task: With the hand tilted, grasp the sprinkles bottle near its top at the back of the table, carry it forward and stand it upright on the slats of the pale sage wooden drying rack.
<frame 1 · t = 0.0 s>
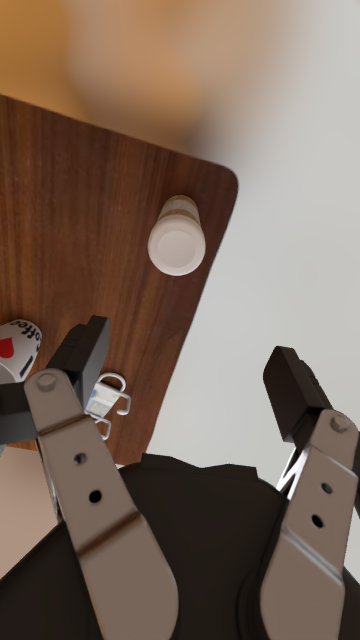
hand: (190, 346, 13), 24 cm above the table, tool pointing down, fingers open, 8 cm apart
cup: (26, 332, 42), on the table
wall mount rack: (89, 392, 49), on the table
sprinkles bottle: (180, 214, 32), on the table
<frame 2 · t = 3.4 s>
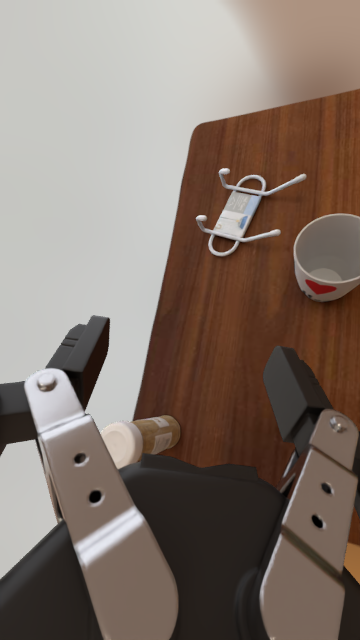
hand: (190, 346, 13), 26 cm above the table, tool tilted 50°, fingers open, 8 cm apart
cup: (322, 285, 37), on the table
wall mount rack: (250, 220, 43), on the table
sprinkles bottle: (167, 431, 39), on the table
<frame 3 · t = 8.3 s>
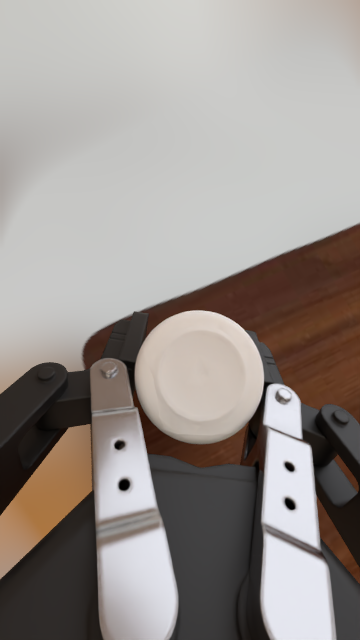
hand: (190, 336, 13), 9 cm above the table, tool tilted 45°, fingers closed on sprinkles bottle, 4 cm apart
sprinkles bottle: (170, 374, 22), on the table, touching gripper
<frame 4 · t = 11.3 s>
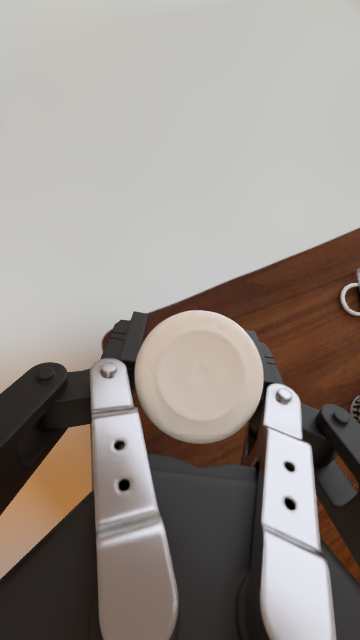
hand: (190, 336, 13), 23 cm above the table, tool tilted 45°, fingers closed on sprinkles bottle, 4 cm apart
sprinkles bottle: (171, 374, 22), point 13 cm above the table, touching gripper
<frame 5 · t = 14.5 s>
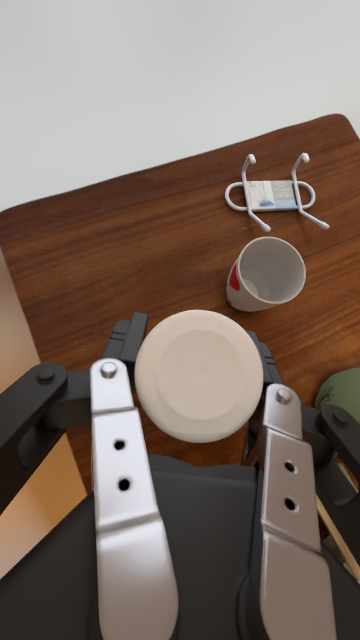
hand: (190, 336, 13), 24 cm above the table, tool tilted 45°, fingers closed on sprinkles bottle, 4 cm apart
cup: (242, 294, 40), on the table
drying rack: (291, 517, 35), on the table
wall mount rack: (271, 211, 44), on the table
olive green ceramic pot: (354, 422, 38), on the table
sprinkles bottle: (170, 374, 22), point 15 cm above the table, touching gripper
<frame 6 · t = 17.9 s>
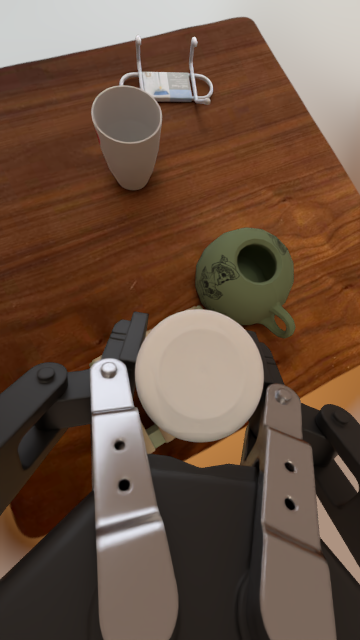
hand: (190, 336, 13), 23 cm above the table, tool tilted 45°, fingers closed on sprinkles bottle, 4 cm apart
cup: (132, 176, 41), on the table
drying rack: (167, 376, 35), on the table
wall mount rack: (169, 103, 44), on the table
olive green ceramic pot: (239, 294, 39), on the table
sprinkles bottle: (171, 374, 22), point 14 cm above the table, touching gripper
when the fingers open (14 cm above the table, at t = 20.8 s): sprinkles bottle stays where it is, resting on drying rack.
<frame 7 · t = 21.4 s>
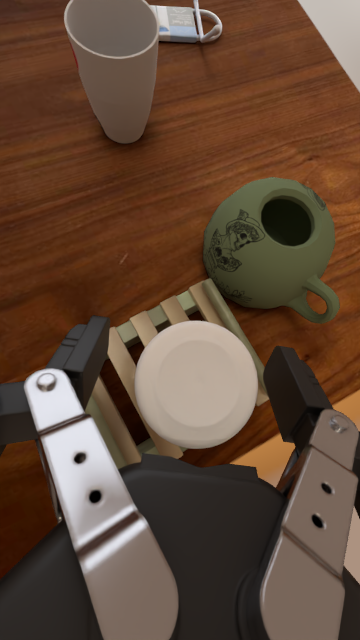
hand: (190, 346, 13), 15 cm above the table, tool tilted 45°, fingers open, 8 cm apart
cup: (124, 127, 33), on the table
drying rack: (167, 375, 27), on the table
wall mount rack: (169, 43, 36), on the table
olive green ceramic pot: (258, 272, 31), on the table
sprinkles bottle: (170, 377, 23), point 5 cm above the table, touching drying rack
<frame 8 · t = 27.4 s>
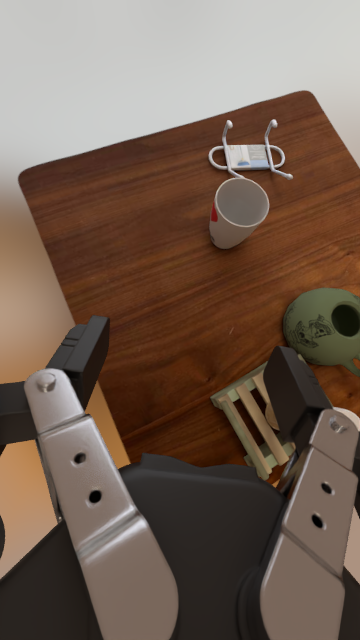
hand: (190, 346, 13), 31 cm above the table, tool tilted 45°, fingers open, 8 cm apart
cup: (223, 236, 49), on the table
drying rack: (264, 407, 43), on the table
wall mount rack: (248, 170, 52), on the table
olive green ceramic pot: (316, 337, 47), on the table
sprinkles bottle: (278, 413, 38), point 5 cm above the table, touching drying rack
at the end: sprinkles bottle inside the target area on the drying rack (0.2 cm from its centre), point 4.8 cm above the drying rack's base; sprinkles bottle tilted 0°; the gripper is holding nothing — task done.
